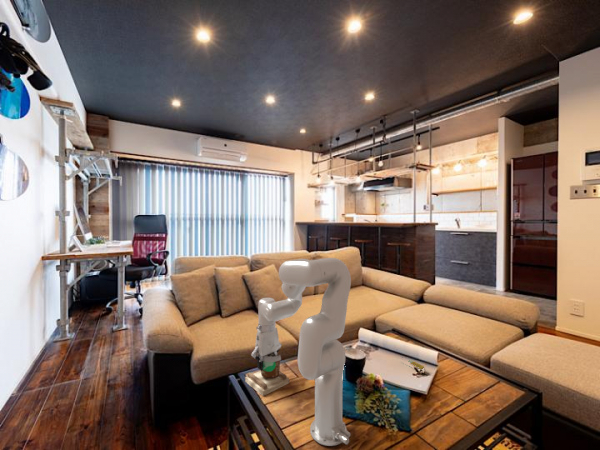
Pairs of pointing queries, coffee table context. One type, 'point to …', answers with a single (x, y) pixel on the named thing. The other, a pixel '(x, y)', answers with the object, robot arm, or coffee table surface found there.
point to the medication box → (416, 364)
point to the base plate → (266, 382)
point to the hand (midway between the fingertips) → (266, 366)
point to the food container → (271, 366)
